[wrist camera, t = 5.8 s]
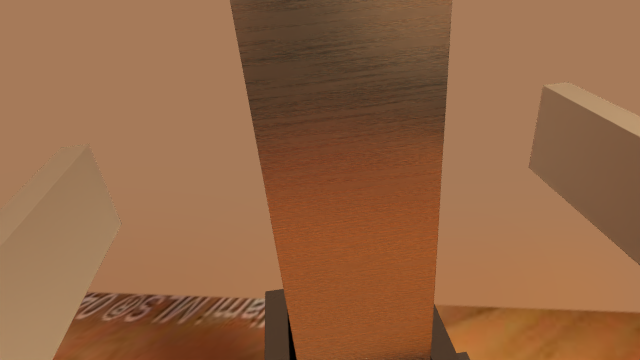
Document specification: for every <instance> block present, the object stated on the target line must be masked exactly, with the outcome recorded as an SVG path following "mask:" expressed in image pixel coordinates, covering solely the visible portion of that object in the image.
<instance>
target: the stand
mask: <svg viewBox="0 0 640 360" xmlns="http://www.w3.org/2000/svg"><path fill="white" fill-rule="evenodd" d="M265 295H266V296H265V360H297V358H296V352H295V347H294V342H293V336H292V331H291V326H290V320H289V315H288V309H287V304H286V299H285V293H284V289H281V290H274V291H267V292H266V293H265ZM430 360H470V359H469V357H468V354H467V352H462V353H456V351H455V349H454V347H453V345H452V343H451V340H450V338H449V336H448V334H447V331H446V329H445V327H444V325H443V322H442V320H441V318H440V316H439V314H438V311H437V309H436V307H435V305H434V308H433V324H432V341H431V357H430Z"/></svg>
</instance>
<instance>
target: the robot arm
mask: <svg viewBox="0 0 640 360" xmlns="http://www.w3.org/2000/svg"><path fill="white" fill-rule="evenodd" d="M529 168H530V169H531V170H532V171H533V172H534V173H536V174H537V175H538V176H539V177H540V178H541V179H542V180H543V181H545V182H546V183H547V184H548V185H549V186H550V187H551V188H553V189H554V190H555V191H556V192H557V193H558V194H559V195H561V196H562V197H563V198H564V199H565V200H566V201H567V202H568V203H570V204H571V205H572V206H573V207H574V208H575V209H576V210H578V211H579V212H580V213H581V214H582V215H583V216H584V217H585V218H587V219H588V220H589V221H590V222H591V223H592V224H593V225H595V226H596V227H597V228H598V229H599V230H600V231H601V232H603V233H604V234H605V235H606V236H607V237H608V238H609V239H611V240H612V241H613V242H614V243H615V244H616V245H617V246H619V247H620V248H621V249H622V250H623V251H624V252H625V253H626V254H628V255H629V256H630V257H631V258H632V259H633V260H634V261H636V262H637V263H638V264H639V265H640V116H638V115H636V114H634V113H632V112H630V111H627V110H625V109H623V108H621V107H619V106H617V105H615V104H613V103H611V102H609V101H607V100H604V99H603V98H600V97H598V96H596V95H594V94H592V93H590V92H588V91H586V90H584V89H582V88H579V87H578V86H575V85H573V84H571V83H569V82H566V83H558V84H550V85H543V90H542V95H541V101H540V107H539V112H538V118H537V123H536V129H535V135H534V140H533V146H532V152H531V157H530V163H529ZM120 226H121V221H120V218H119V216H118V214H117V211H116V209H115V206H114V204H113V202H112V199H111V197H110V194H109V192H108V189H107V187H106V184H105V182H104V180H103V177H102V175H101V172H100V170H99V167H98V165H97V162H96V160H95V158H94V155H93V153H92V150H91V148H90V145H89V144H86V145H78V146H71V147H63V148H60V149H59V150H58V152H56V153H55V154H54V156H53V157H52V158H50V159H49V160H48V162H47V163H46V164H45V165H44V166H43V167H42V168H41V169H40V170H39V171H38V172H37V173H36V174H35V175H34V176H33V177H32V178H31V179H30V180H29V181H28V182H27V183H26V184H25V185H24V186H23V187H22V188H21V189H20V190H19V191H18V192H17V193H16V194H15V195H14V196H13V197H12V198H11V199H10V200H9V201H8V202H7V203H6V204H5V205H4V206H3V207H2V208H1V209H0V360H53V358H54V356H55V354H56V352H57V350H58V348H59V346H60V344H61V342H62V340H63V338H64V336H65V334H66V332H67V330H68V328H69V326H70V324H71V322H72V320H73V318H74V316H75V314H76V312H77V310H78V309H79V307H80V305H81V303H82V301H83V299H84V297H85V295H86V293H87V291H88V289H89V287H90V285H91V283H92V281H93V279H94V277H95V275H96V273H97V271H98V269H99V267H100V265H101V263H102V261H103V259H104V258H105V256H106V253H107V252H108V249H109V248H110V246H111V244H112V242H113V240H114V238H115V236H116V234H117V232H118V230H119V228H120Z"/></svg>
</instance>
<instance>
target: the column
mask: <svg viewBox="0 0 640 360" xmlns="http://www.w3.org/2000/svg"><path fill="white" fill-rule="evenodd" d="M230 3H231V9H232V14H233V19H234V25H235V30H236V36H237V41H238V46H239V52H240V57H241V62H242V68H243V73H244V78H245V84H246V89H247V94H248V100H249V105H250V110H251V116H252V121H253V127H254V132H255V138H256V143H257V148H258V154H259V159H260V164H261V170H262V175H263V181H264V186H265V191H266V197H267V202H268V207H269V213H270V218H271V224H272V229H273V234H274V239H275V245H276V250H277V255H278V261H279V266H280V272H281V277H282V283H283V287H284V293H285V299H286V304H287V309H288V315H289V320H290V326H291V331H292V336H293V342H294V347H295V352H296V358H297V360H430V357H431V341H432V324H433V308H434V291H435V275H436V258H437V242H438V225H439V209H440V193H441V176H442V160H443V159H442V158H443V143H444V126H445V111H446V110H445V109H446V94H447V77H448V61H449V45H450V28H451V12H452V0H230Z"/></svg>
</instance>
